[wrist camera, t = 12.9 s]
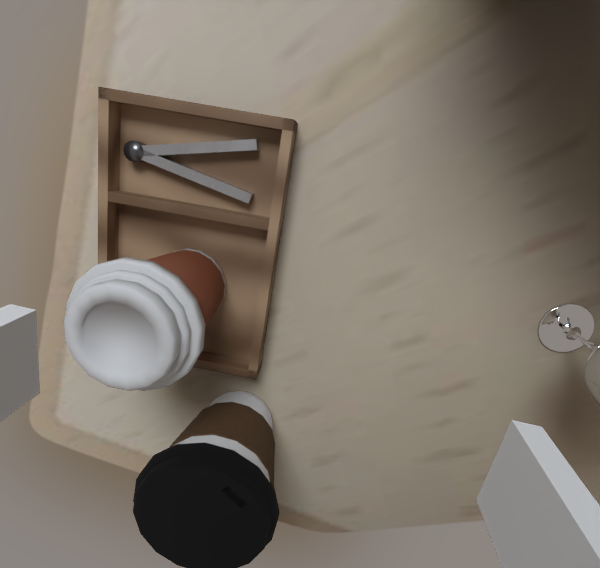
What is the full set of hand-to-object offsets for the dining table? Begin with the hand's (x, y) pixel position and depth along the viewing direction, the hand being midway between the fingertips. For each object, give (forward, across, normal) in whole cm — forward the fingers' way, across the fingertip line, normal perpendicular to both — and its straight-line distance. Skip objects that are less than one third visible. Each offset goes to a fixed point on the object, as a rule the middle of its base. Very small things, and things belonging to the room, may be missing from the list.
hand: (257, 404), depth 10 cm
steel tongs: (+22, -11, +4) cm, 25 cm away
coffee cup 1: (+22, -10, -6) cm, 26 cm away
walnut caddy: (+23, -11, -2) cm, 25 cm away
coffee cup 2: (+23, -4, -19) cm, 30 cm away
